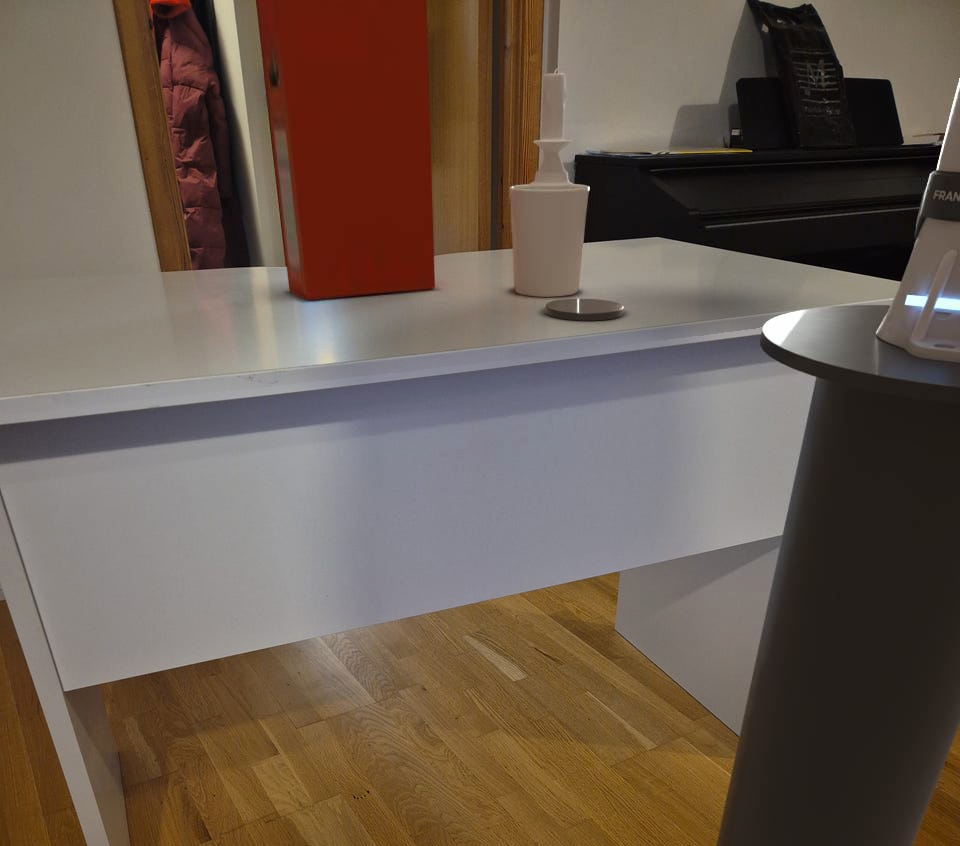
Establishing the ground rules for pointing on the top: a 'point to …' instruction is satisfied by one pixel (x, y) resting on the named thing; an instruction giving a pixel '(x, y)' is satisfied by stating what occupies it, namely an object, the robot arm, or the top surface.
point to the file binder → (351, 143)
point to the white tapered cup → (547, 238)
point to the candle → (553, 133)
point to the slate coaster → (584, 309)
